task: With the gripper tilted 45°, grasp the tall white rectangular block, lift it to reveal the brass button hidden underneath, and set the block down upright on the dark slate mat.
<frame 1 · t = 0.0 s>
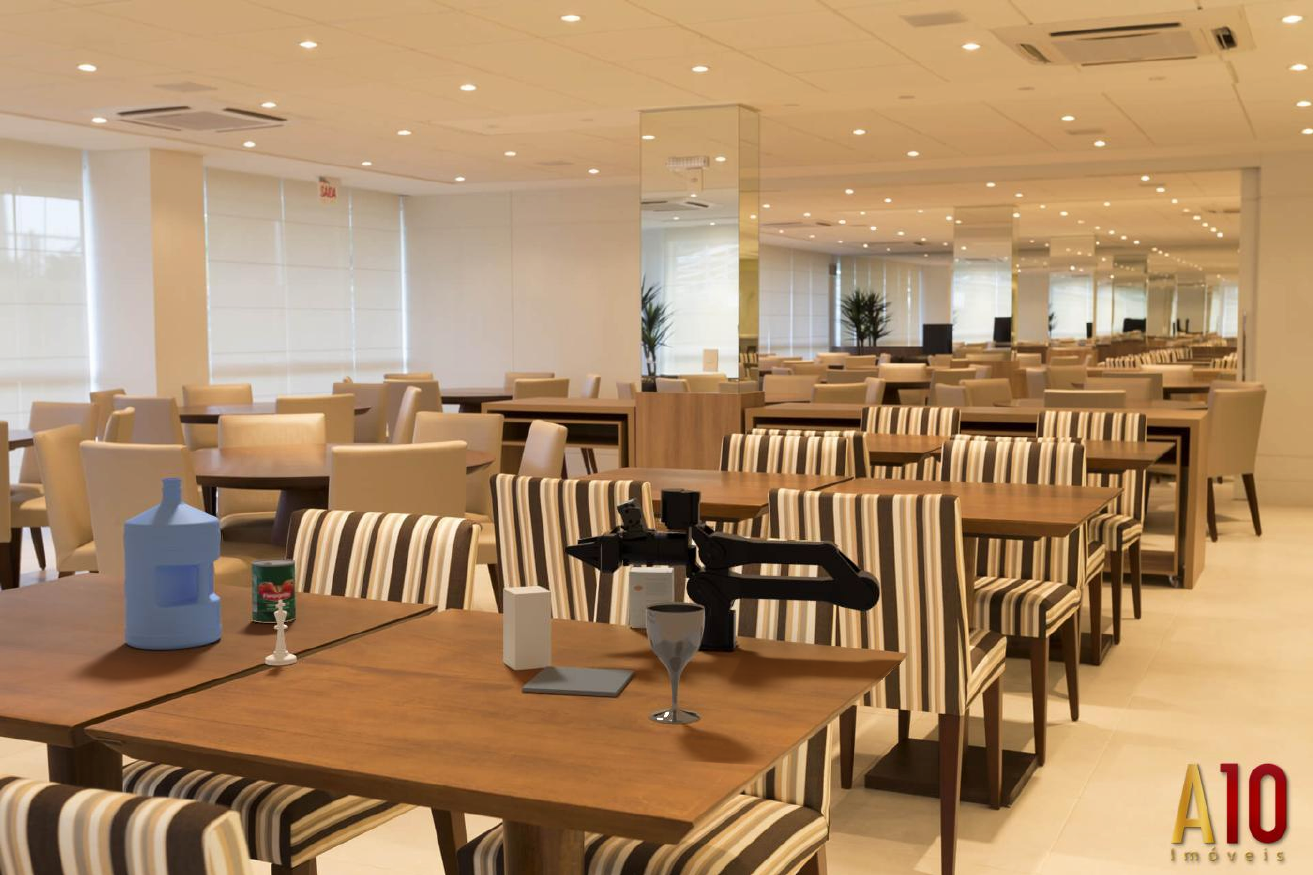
hand: (571, 546, 224), 17 cm above the table, tool horizontal, fingers open, 9 cm apart
wine glass: (674, 718, 177), on the table
brass button: (527, 666, 207), on the table
small box: (651, 627, 239), on the table
water jug: (174, 642, 223), on the table
slate mat: (579, 682, 195), on the table
chess piece: (281, 663, 208), on the table
white rectangular block: (527, 664, 207), on the table
canned tomato: (274, 621, 242), on the table
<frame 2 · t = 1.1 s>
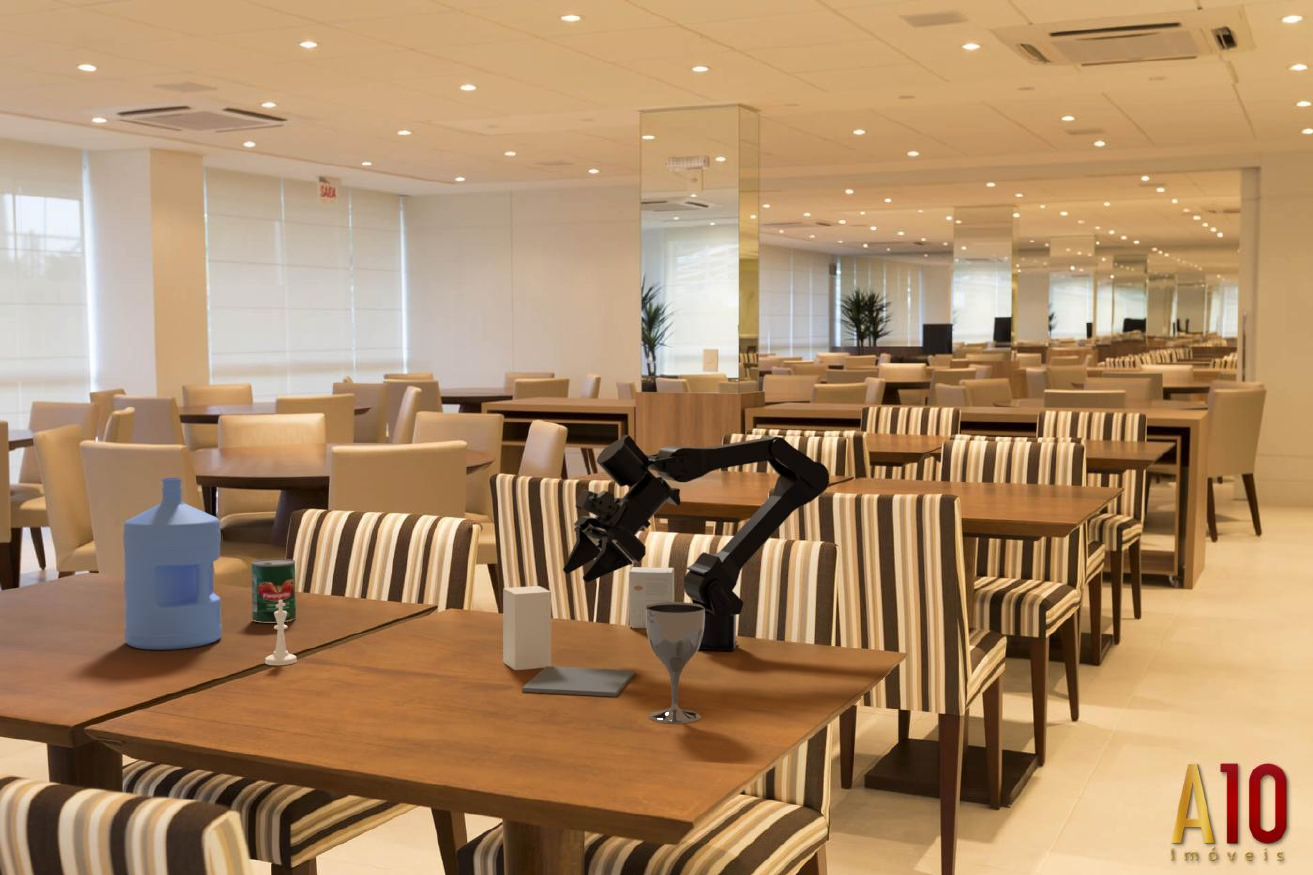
hand: (574, 576, 210), 14 cm above the table, tool tilted 45°, fingers open, 9 cm apart
nothing on the table moved.
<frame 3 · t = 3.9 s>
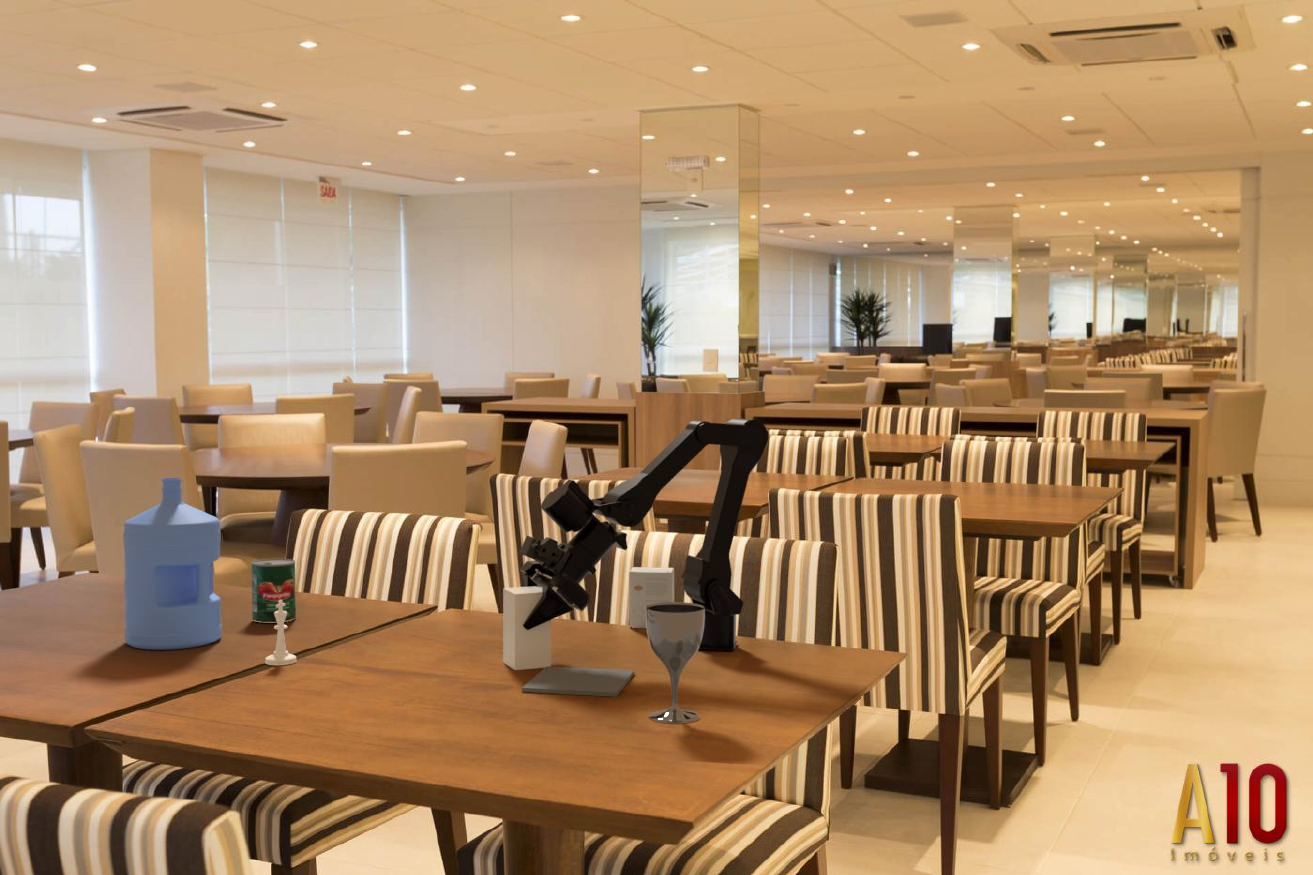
hand: (518, 624, 206), 7 cm above the table, tool tilted 45°, fingers closed on white rectangular block, 6 cm apart
white rectangular block: (526, 664, 207), on the table, touching gripper
everything else where it was.
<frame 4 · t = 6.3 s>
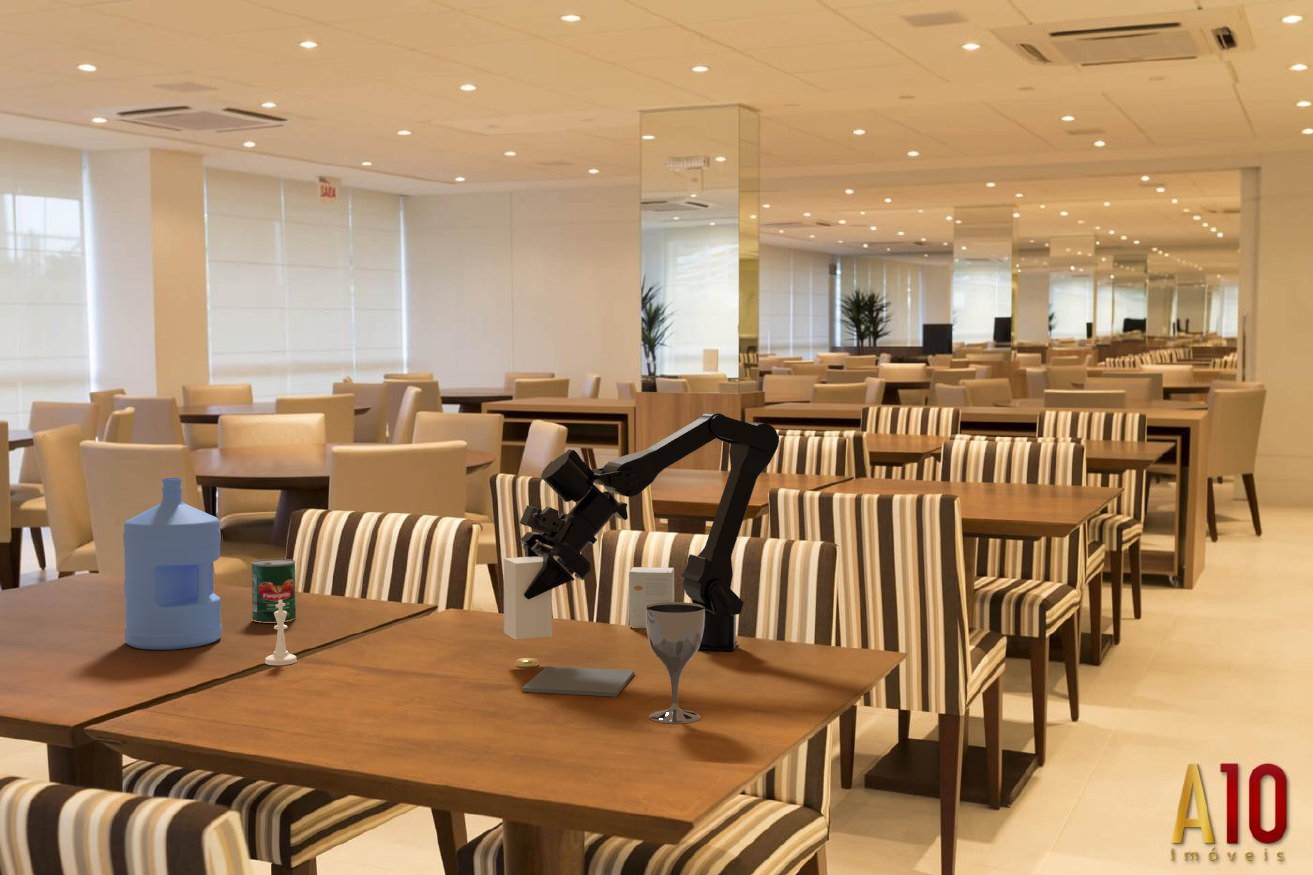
hand: (519, 594, 206), 11 cm above the table, tool tilted 45°, fingers closed on white rectangular block, 6 cm apart
white rectangular block: (527, 634, 207), point 5 cm above the table, touching gripper
everything else where it was.
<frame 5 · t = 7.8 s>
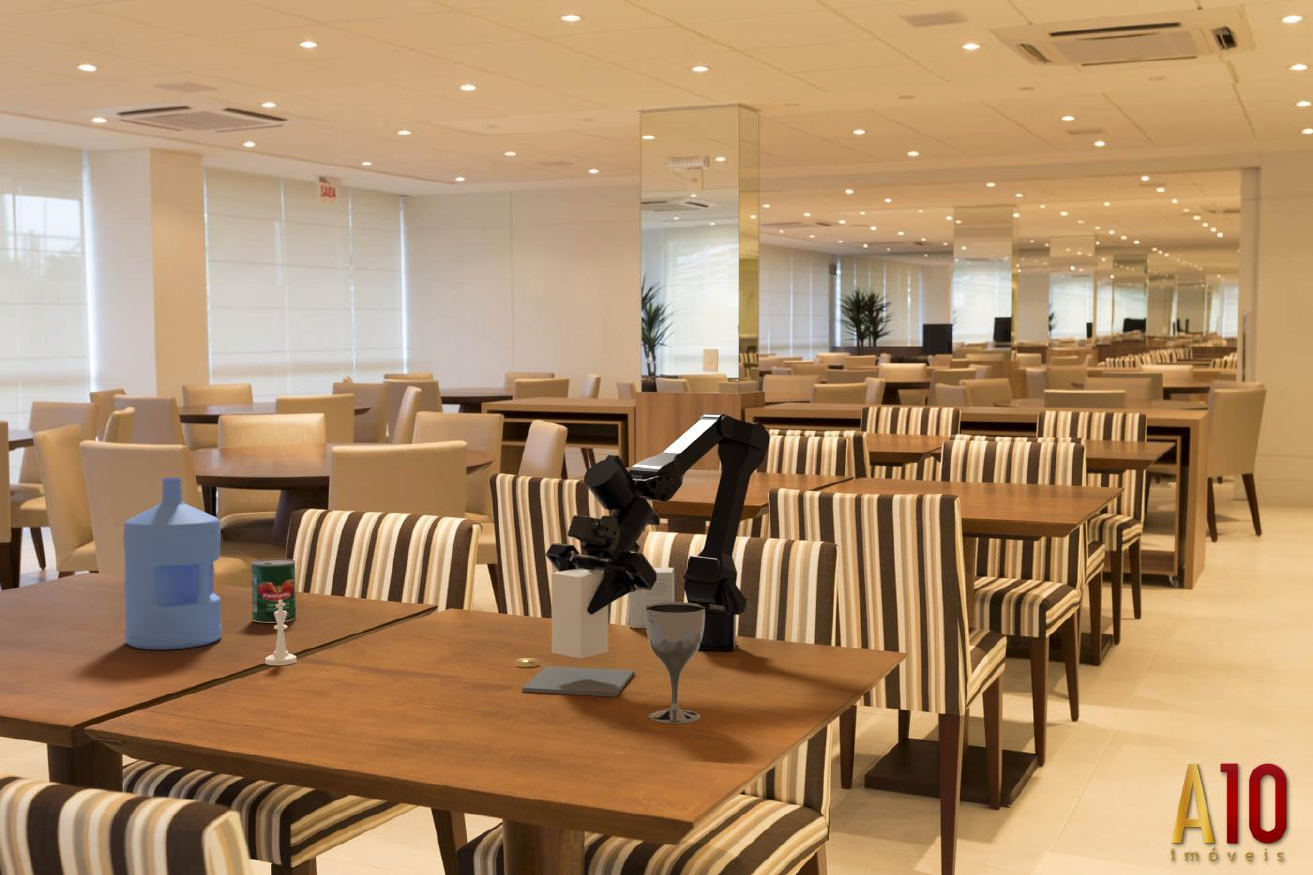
hand: (573, 610, 194), 11 cm above the table, tool tilted 45°, fingers closed on white rectangular block, 6 cm apart
white rectangular block: (579, 652, 195), point 5 cm above the table, touching gripper
everything else where it was.
when the fingers open (8 cm above the table, at t = 8.8 s): white rectangular block drops 1 cm, resting on slate mat.
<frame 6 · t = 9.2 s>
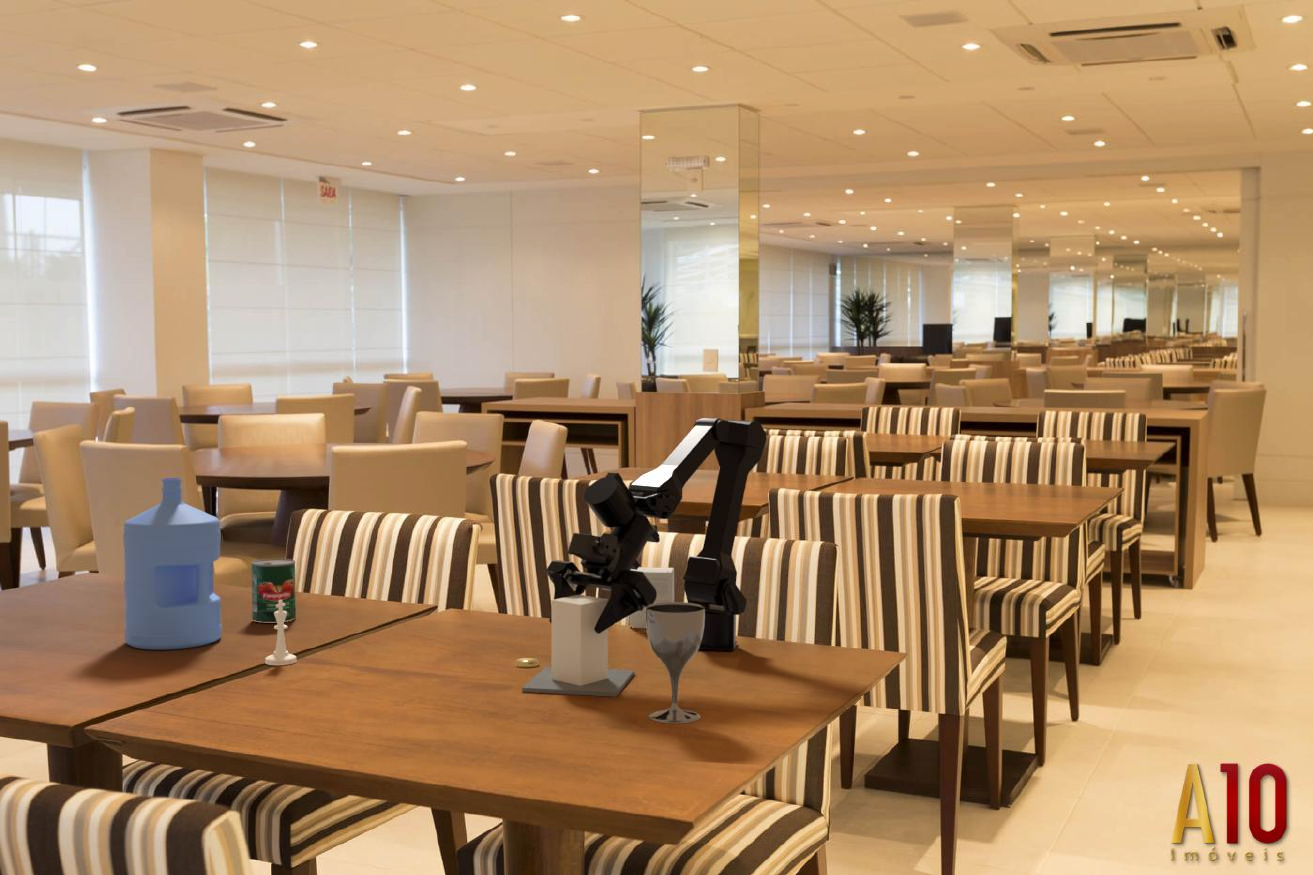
hand: (573, 627, 194), 9 cm above the table, tool tilted 45°, fingers open, 9 cm apart
white rectangular block: (579, 678, 195), point 1 cm above the table, touching slate mat
everything else where it was.
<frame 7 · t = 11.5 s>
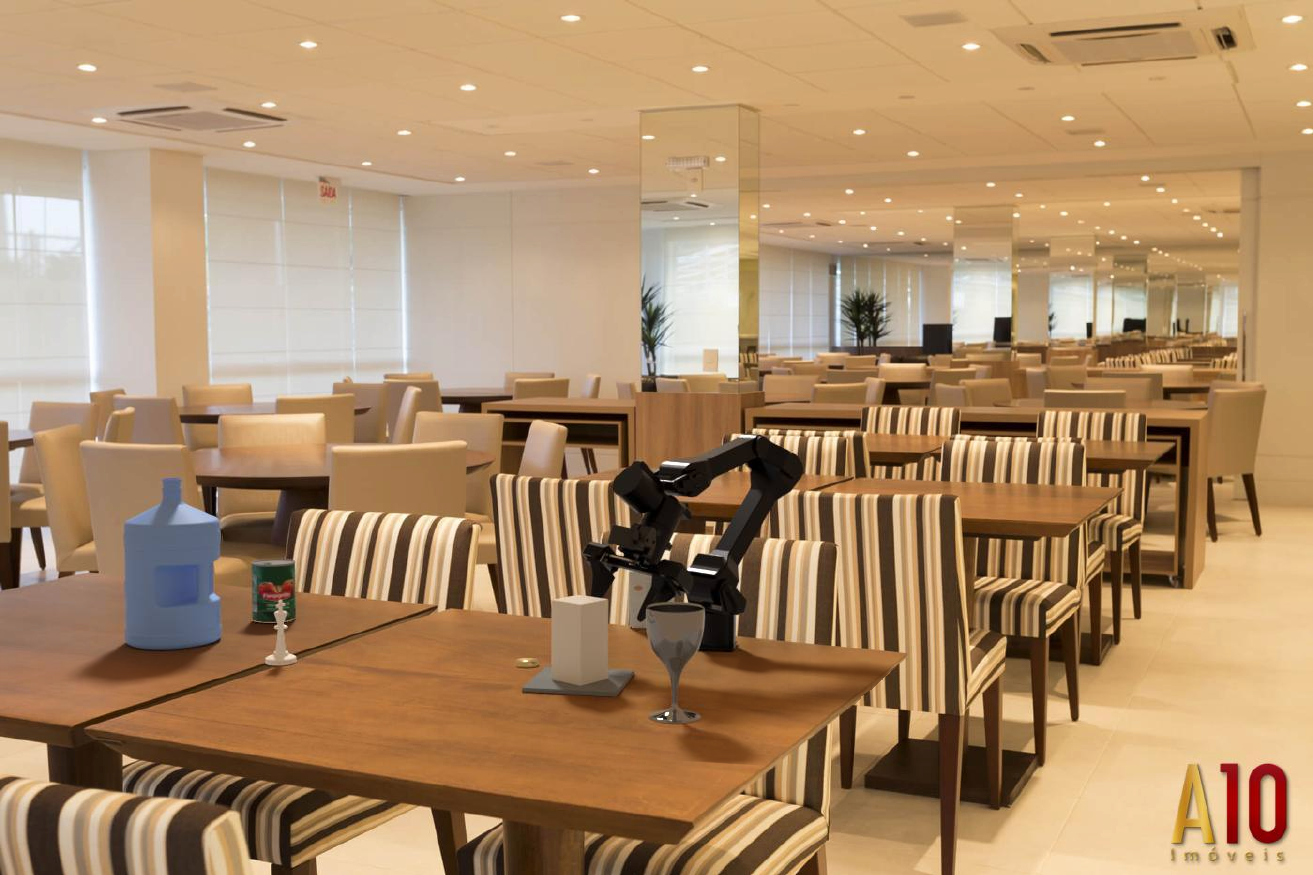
hand: (614, 614, 203), 9 cm above the table, tool tilted 35°, fingers open, 9 cm apart
nothing on the table moved.
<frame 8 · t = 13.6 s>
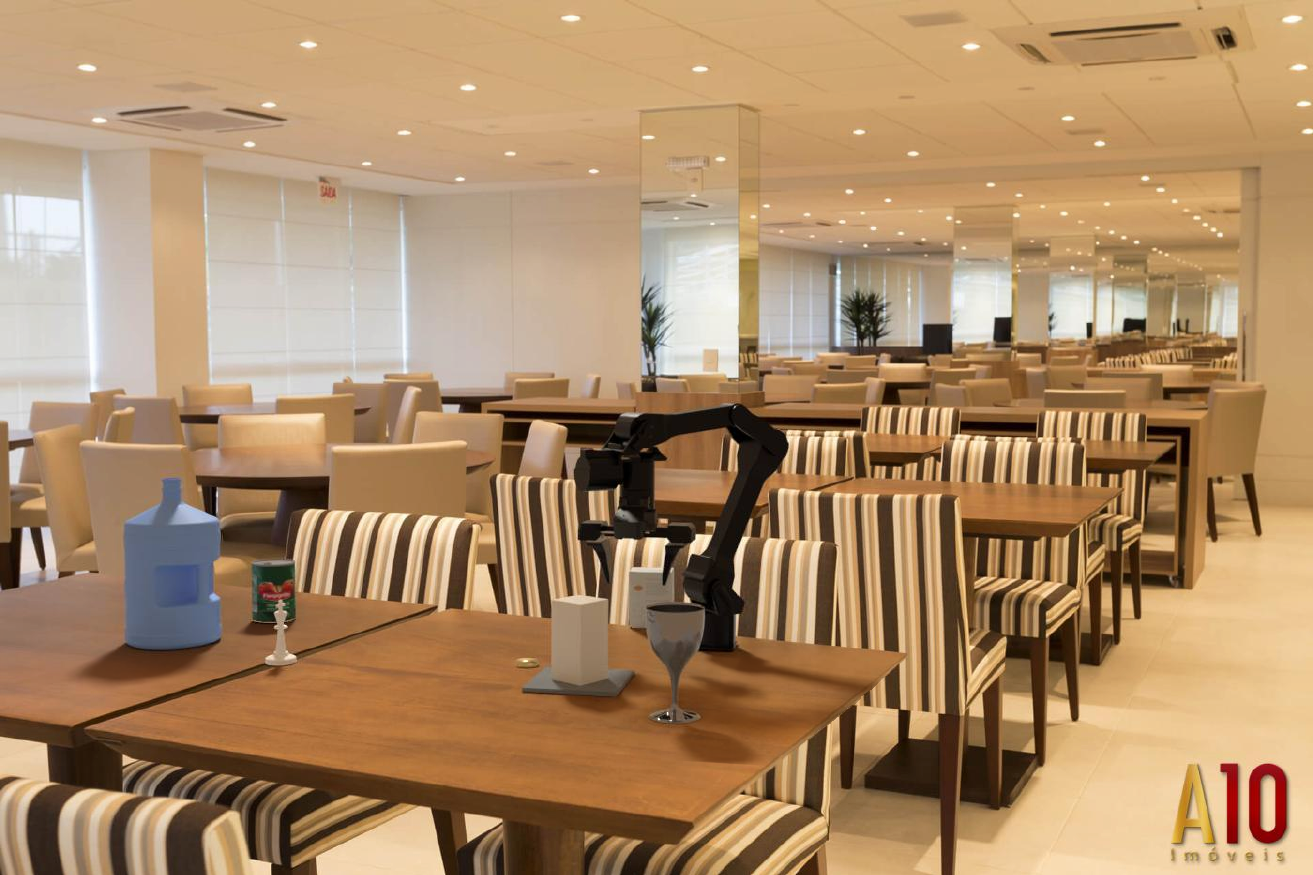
hand: (636, 584, 212), 12 cm above the table, tool pointing down, fingers open, 9 cm apart
nothing on the table moved.
at the end: white rectangular block inside the target area on the slate mat (0.0 cm from its centre), point 0.6 cm above the slate mat's base; white rectangular block tilted 0°; the gripper is holding nothing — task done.
